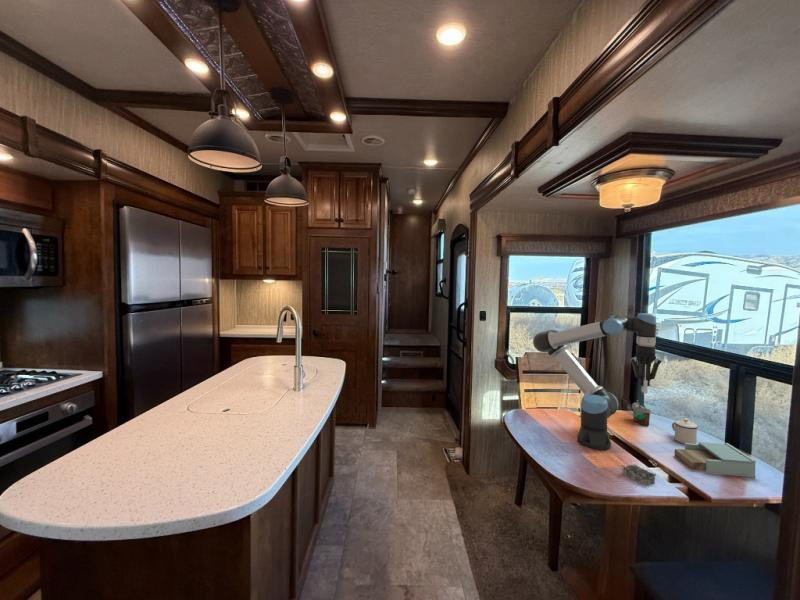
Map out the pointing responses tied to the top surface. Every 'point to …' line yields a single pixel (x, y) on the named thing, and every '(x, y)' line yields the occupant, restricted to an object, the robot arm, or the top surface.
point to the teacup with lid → (685, 431)
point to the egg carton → (639, 474)
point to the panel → (694, 458)
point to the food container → (641, 414)
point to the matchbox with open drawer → (725, 459)
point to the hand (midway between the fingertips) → (644, 392)
